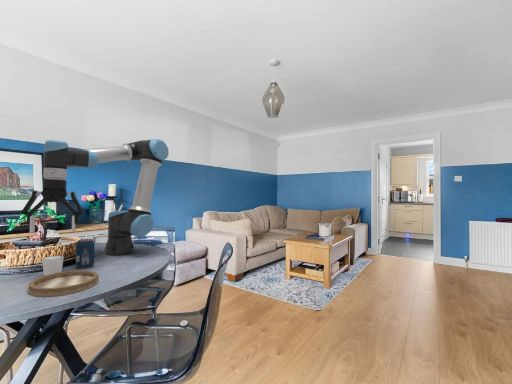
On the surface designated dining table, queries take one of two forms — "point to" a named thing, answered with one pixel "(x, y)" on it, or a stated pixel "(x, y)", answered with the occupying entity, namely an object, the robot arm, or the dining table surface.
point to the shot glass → (52, 264)
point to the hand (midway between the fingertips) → (53, 232)
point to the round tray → (63, 283)
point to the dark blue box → (85, 253)
